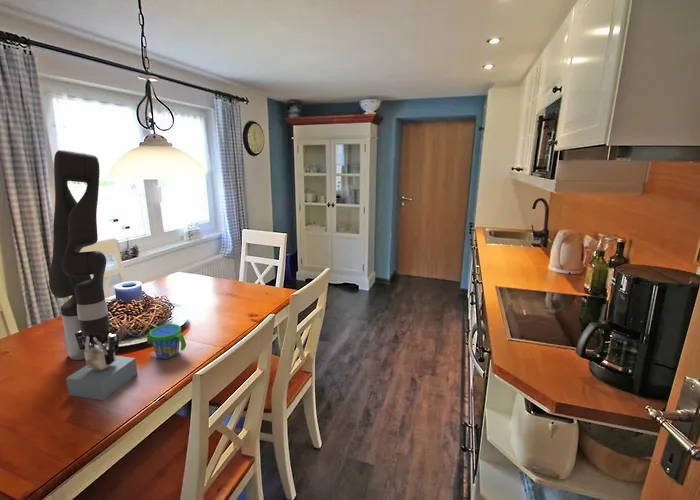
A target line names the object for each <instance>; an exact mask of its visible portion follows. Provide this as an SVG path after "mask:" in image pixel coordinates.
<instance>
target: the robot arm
mask: <svg viewBox="0 0 700 500" xmlns="http://www.w3.org/2000/svg"><path fill="white" fill-rule="evenodd" d="M100 169H101V168H100V163H99V159H98V157H97V156H96V155H94V154H91V153H86V152H84V153H83V152H79V151H71V150H66V149H65V150H64V149H59V150H57V151H56V152H55V155H54V158H53V173H54V175H53V177H54V213H53V225H52V226H53V227H52V228H53V229H52V231H53V232H52V235H53V244H52V246H53V247H52V257H51V263H50V264H51V265H50V269H49V277H48V286H49V289H50V292H51V294H52V296H54V297H55V298H57V299H64V298H69V299H68V300H67V301H66V302H65V303H63V304H62V305H61V306H60V313H61V318H62V319H61V320H62V324H63V330H64V331H63V333H62V335H63V341H64V344H65V345H64V346H65V350H66V355H67V357H69V359H71V360H73V361H79V360H80V361H81V360H85V355H84V352H86V351H87V350H89V349H91V348H92V347H94V346H96V345H98V346H99V348H100V349H102V350H103V352H104V354H105V361H106V365H110V364H111V363H113V361H114V356H113V353H114V352H115V353H116V352H117V351H119V350H120V349H119V346H120V344H119V343H120V339H119V338H120V335H119V334H118V333H115V334H112V333H111V332H110V329H109V327H110V326H111V325H110V324H111V321H110V315H109V310H108V308H109V307H108V304H107V301H106V297H105V291H104V277H105V271H106V267H107V258H106V256H105V254H104V253H103V252H101V250H100V251H99V250H91V251H81V250H82V249H83V248H86V247H89V246H90V247H91V246H93V245H95V244H97V242H98V240H99V239H98V225H97V223H98V220H97V211H98V201H99V187H100V175H101V174H100ZM68 182H74V183H75V182H76V183H85V184H86V188H85V190H84V193H83V195H82V196H81V198H80V199H79V200H78V201H77V200H76V199H75V197H74V196H73V193H72V192H71V190H70V188H69V186H68ZM91 275H93V277H92V276H91ZM103 344H105V345H103ZM106 347H108V348H109V350H107V348H106Z"/></svg>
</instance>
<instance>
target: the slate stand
mask: <svg viewBox="0 0 700 500" xmlns="http://www.w3.org/2000/svg"><path fill="white" fill-rule="evenodd" d="M115 356H116V361H115V362H113V363H112V364H110V365H109V366H107V367H106V368H104V369H103V370H98V369H91V368H87V366H86V365H85V366H82V368H80V369H78V370H77V371H75V372H74V373H72V374H70V375H69V376H67V377H65V381H66V386H67V391H68V395H69V396H73V397H80V398H85V399H86V398H87V399H91V400H92V399H93V400H99V401H104V400H106V399H107V398H108V397H109V396H111V395H112V394H113V393H114V392H116V391H117V390H118V389H119V388H122V386H124V385H125V384H126V383H127V382H129V381H130V380H132V379H133V378H134V377H135V376H136V375H138V369H137V362H136V358H135V357H128V356H121V355H115Z"/></svg>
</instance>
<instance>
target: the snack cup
mask: <svg viewBox="0 0 700 500" xmlns="http://www.w3.org/2000/svg"><path fill="white" fill-rule="evenodd" d="M181 332H182V327H181V326H180V325H179V324H176V323H167V324H161V325H158V326H156V327H154V328H152V329H151V330H149V331H148V333H147V339H146V340H147V341H146V342H147V344H148V345H152V346H153V349H154V352H155V356H156V358H158V359H160V360H161V359H164V360H167V359H171V358H173V357H176V356H177V355H178V353H179V350H180V352H181V351H184V350H185V349H186V347H187V343H186V339H185V337H184V335H183V334H182V333H181Z"/></svg>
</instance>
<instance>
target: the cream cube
mask: <svg viewBox="0 0 700 500" xmlns="http://www.w3.org/2000/svg"><path fill="white" fill-rule="evenodd" d="M105 344H106V343H104V344H103V345H105ZM106 348H107V350H109V348H108V347H106ZM84 355H85V359H84V360H85V364H86V365H85V366H87V368H91V369H98V370H103V369H104V368H106V367H107V366H109V365H106V361H105V354H104V352H103V350H102V349H100V348H99V346H98V345H96V346H94V347H92V348H91V349H89V350H87V351H86V352H84ZM113 356H114V361H113V362H115V361H116V356H117V355H116V352H114V353H113ZM111 364H112V363H111Z"/></svg>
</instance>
